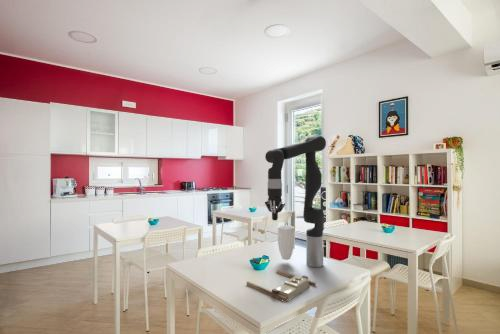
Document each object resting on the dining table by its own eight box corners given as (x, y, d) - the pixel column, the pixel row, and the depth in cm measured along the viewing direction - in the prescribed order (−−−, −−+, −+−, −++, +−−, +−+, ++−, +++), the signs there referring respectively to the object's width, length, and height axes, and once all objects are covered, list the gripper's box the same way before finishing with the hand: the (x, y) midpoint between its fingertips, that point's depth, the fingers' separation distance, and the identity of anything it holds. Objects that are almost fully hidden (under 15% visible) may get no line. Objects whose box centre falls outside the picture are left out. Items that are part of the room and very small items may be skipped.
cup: (296, 266, 161) (296, 229, 161) (278, 266, 161) (277, 228, 161) (293, 260, 171) (293, 225, 171) (276, 260, 172) (276, 225, 172)
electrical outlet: (274, 287, 125) (295, 275, 139) (274, 296, 125) (295, 283, 139) (288, 291, 120) (308, 278, 134) (288, 301, 120) (308, 287, 134)
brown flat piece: (278, 272, 152) (278, 266, 152) (316, 285, 135) (316, 279, 135) (246, 285, 136) (246, 278, 136) (284, 302, 118) (284, 295, 118)
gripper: (289, 187, 147) (289, 220, 147) (270, 186, 156) (270, 217, 156) (279, 188, 141) (279, 222, 141) (260, 187, 151) (260, 219, 151)
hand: (274, 220), depth 149 cm, fingers closed
